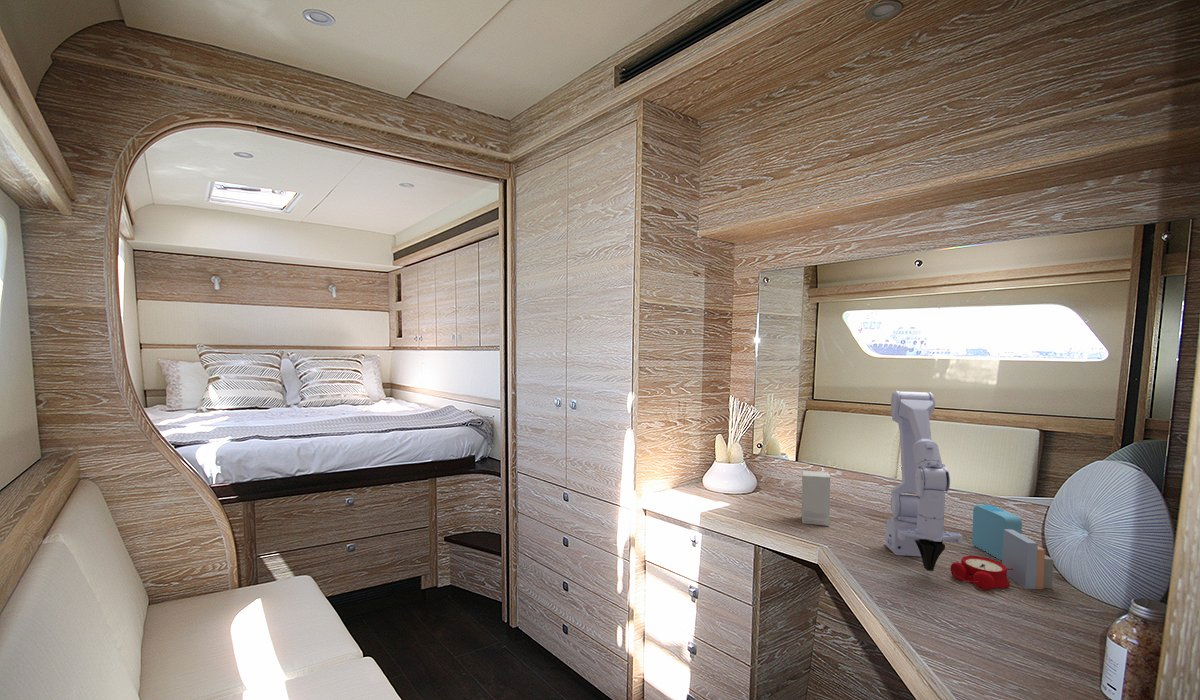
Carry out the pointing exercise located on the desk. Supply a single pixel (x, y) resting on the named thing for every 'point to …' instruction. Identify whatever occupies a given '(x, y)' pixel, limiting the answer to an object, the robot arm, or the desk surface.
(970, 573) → the alarm clock
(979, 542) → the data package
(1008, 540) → the book row
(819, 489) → the skincare box
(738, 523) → the desk surface
